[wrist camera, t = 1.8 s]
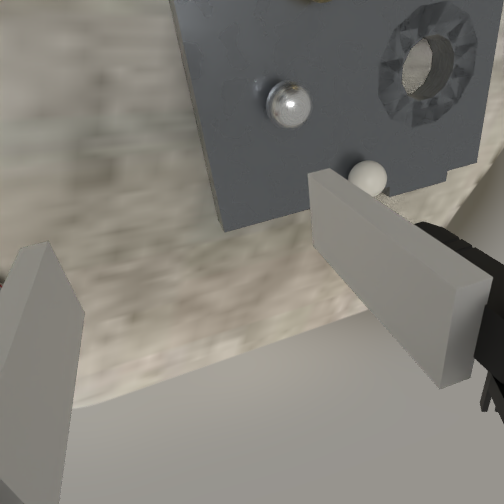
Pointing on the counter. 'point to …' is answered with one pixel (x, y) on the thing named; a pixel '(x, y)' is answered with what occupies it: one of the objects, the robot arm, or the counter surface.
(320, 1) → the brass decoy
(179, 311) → the counter surface
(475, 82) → the grey flat block
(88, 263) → the counter surface
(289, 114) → the steel ball
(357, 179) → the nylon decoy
